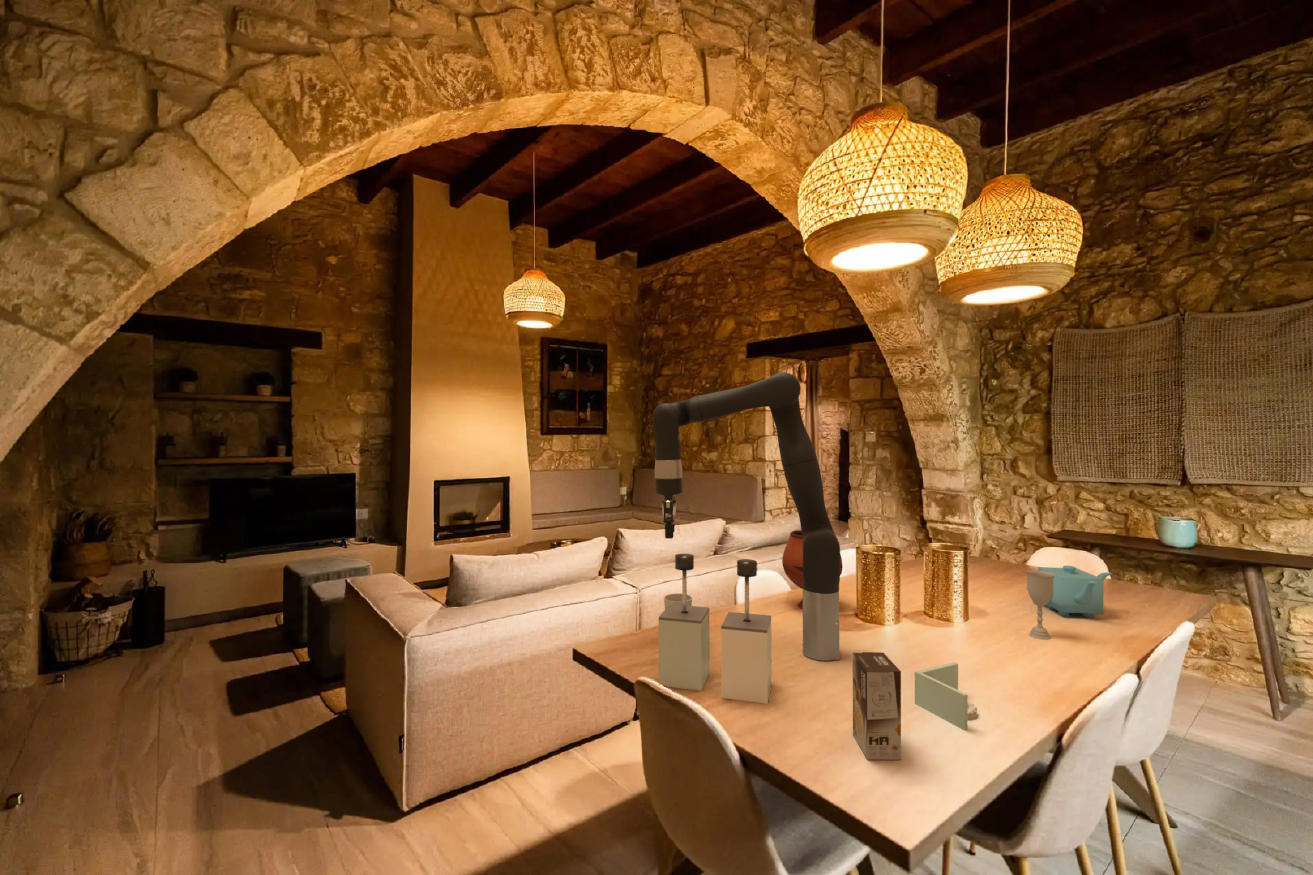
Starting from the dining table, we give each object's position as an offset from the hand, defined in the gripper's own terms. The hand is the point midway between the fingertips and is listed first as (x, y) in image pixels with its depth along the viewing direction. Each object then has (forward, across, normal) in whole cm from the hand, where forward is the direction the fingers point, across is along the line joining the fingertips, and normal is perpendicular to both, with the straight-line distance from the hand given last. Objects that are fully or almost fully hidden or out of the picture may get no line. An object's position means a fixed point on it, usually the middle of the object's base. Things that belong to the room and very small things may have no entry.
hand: (669, 535), depth 156 cm
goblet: (+31, +35, -45) cm, 65 cm away
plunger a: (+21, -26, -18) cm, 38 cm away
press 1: (+30, -21, -4) cm, 37 cm away
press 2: (+31, -26, -18) cm, 44 cm away
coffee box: (+32, -47, -40) cm, 69 cm away
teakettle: (+33, +34, -126) cm, 135 cm away
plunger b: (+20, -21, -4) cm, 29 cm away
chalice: (+32, +12, -104) cm, 110 cm away
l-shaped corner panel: (+32, -32, -62) cm, 77 cm away
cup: (+31, +4, -1) cm, 31 cm away
